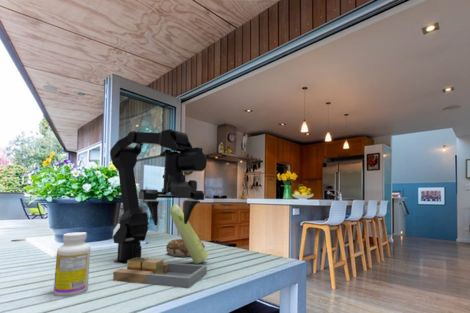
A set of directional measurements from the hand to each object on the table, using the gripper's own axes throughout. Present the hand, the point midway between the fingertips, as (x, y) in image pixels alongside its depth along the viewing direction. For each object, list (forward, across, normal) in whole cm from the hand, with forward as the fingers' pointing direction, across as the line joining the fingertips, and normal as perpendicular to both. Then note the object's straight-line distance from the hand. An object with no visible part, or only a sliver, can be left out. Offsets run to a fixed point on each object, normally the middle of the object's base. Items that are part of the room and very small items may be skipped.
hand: (171, 224), depth 82 cm
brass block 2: (+13, -6, -4) cm, 15 cm away
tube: (+12, +12, +2) cm, 17 cm away
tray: (+13, -1, -10) cm, 16 cm away
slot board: (+13, -8, -2) cm, 15 cm away
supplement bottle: (+13, -25, -5) cm, 29 cm away
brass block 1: (+13, -9, -1) cm, 16 cm away
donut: (+14, +14, +18) cm, 26 cm away
